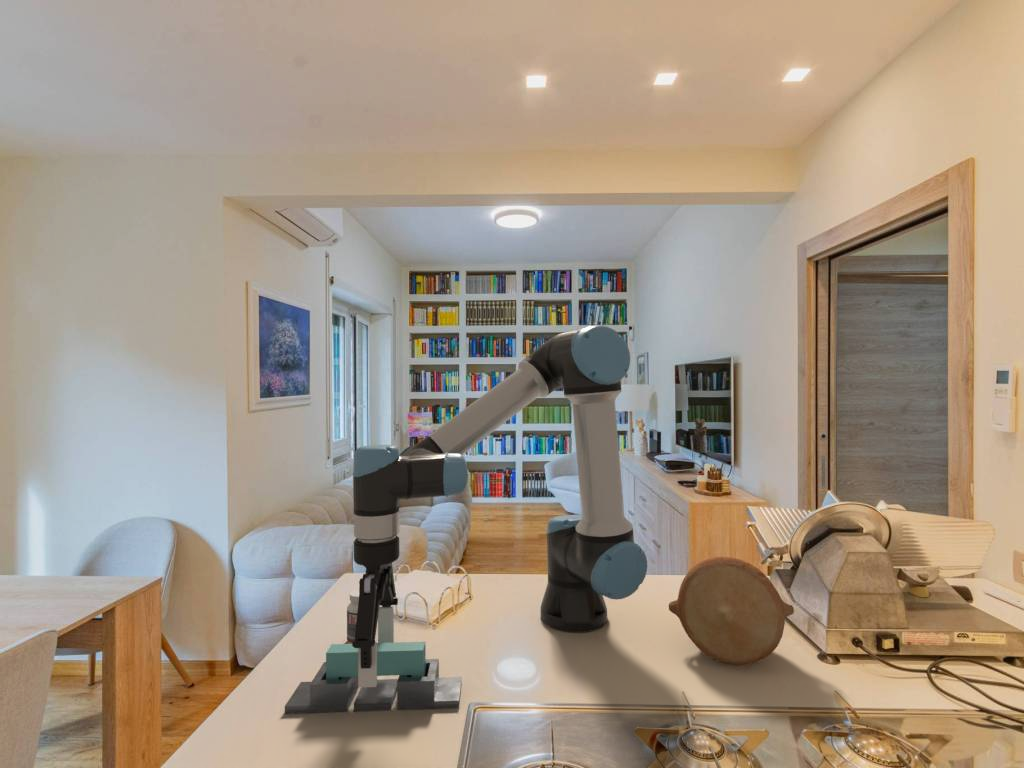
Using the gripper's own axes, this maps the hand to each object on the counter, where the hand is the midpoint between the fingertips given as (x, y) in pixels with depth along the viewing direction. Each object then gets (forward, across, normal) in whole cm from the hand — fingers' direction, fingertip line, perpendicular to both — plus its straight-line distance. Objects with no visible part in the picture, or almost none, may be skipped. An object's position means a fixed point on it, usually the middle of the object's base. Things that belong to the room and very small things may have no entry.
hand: (377, 663), depth 87 cm
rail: (+6, 0, 0) cm, 6 cm away
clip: (+5, 0, 0) cm, 5 cm away
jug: (+6, -16, +68) cm, 71 cm away
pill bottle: (+6, -21, -8) cm, 23 cm away
